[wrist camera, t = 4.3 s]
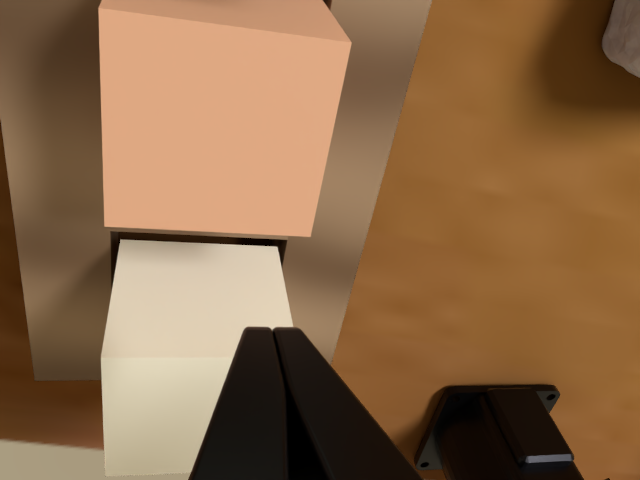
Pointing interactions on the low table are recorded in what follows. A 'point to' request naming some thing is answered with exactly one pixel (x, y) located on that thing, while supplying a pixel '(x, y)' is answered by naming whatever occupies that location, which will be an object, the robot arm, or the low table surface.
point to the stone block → (624, 35)
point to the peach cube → (218, 112)
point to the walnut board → (102, 242)
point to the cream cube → (178, 344)
